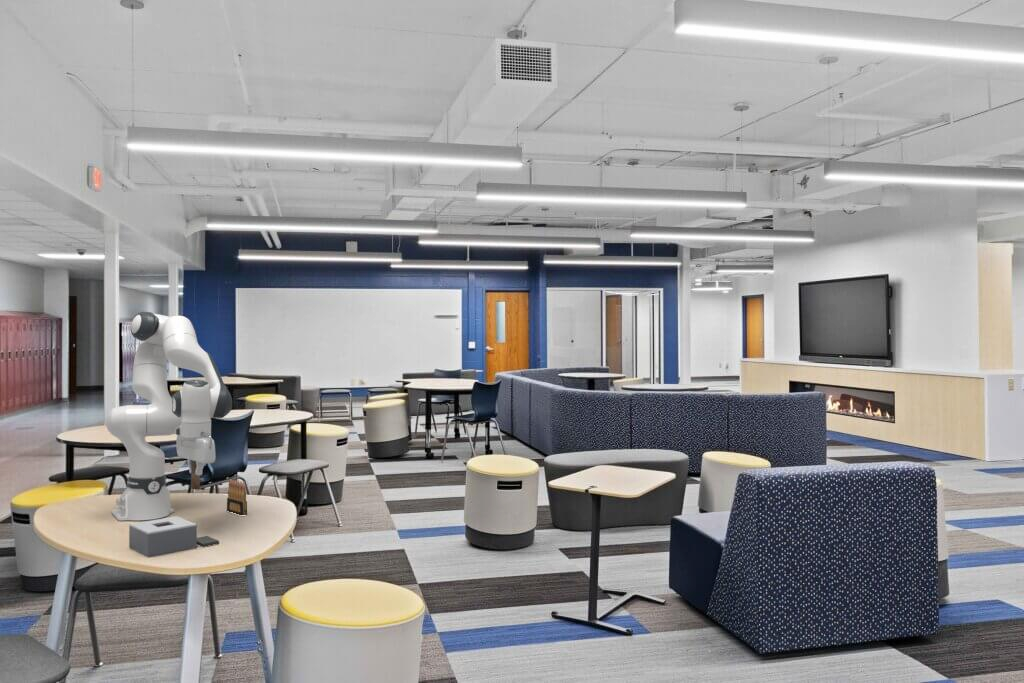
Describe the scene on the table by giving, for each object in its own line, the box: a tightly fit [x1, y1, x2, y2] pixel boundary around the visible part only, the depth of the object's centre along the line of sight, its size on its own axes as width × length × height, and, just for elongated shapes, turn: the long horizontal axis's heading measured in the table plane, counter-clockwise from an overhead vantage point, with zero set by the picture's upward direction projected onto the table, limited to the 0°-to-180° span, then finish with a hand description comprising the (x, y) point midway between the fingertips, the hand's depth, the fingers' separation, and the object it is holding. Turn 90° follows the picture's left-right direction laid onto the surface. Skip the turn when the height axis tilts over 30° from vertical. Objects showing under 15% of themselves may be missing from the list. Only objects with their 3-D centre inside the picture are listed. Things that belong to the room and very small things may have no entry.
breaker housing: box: [128, 516, 198, 558], centre depth 224 cm, size 14×14×7 cm
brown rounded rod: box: [190, 460, 201, 490], centre depth 240 cm, size 3×3×10 cm
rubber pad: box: [196, 535, 220, 548], centre depth 229 cm, size 8×5×1 cm, turn 47°
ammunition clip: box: [226, 478, 248, 516], centre depth 267 cm, size 11×2×12 cm, turn 50°
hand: (195, 474), depth 240 cm, fingers closed on brown rounded rod, 3 cm apart
